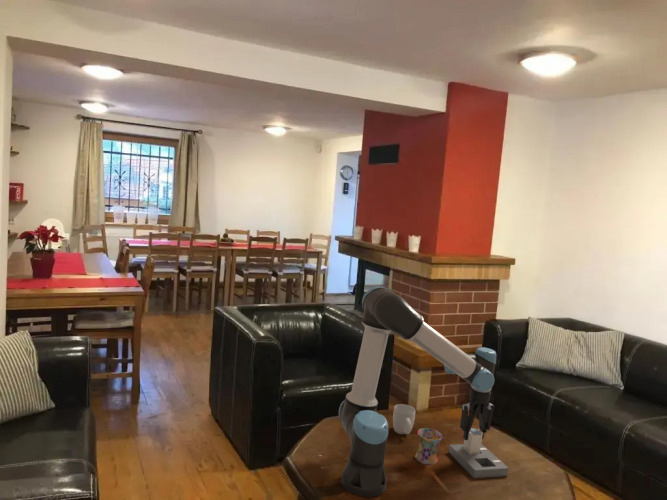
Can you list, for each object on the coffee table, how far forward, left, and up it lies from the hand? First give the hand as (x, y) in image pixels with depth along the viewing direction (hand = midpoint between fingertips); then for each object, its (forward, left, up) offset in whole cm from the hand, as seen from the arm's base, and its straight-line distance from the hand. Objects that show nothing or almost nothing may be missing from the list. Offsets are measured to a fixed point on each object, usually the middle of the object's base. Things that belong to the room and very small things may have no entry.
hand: (471, 446), depth 198 cm
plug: (0, 0, -4) cm, 4 cm away
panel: (0, -5, -5) cm, 7 cm away
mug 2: (-18, +2, -5) cm, 19 cm away
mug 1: (-18, +22, -5) cm, 29 cm away
